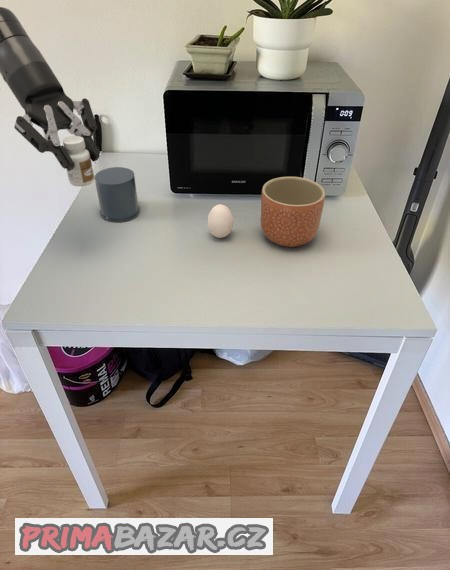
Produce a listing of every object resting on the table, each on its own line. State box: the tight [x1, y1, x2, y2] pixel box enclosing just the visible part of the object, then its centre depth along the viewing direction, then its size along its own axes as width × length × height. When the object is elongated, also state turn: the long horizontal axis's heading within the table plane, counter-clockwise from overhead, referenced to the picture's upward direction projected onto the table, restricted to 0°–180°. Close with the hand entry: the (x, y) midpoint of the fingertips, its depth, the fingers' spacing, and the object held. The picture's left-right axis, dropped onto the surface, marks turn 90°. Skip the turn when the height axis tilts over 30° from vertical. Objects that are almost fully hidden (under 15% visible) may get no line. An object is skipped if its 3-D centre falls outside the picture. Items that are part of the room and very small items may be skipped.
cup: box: [94, 166, 141, 224], centre depth 98 cm, size 9×9×9 cm
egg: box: [207, 204, 234, 239], centre depth 91 cm, size 5×5×7 cm
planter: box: [260, 176, 326, 248], centre depth 90 cm, size 12×12×11 cm
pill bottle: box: [62, 135, 95, 188], centre depth 77 cm, size 4×4×8 cm
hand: (84, 163), depth 76 cm, fingers closed on pill bottle, 4 cm apart
